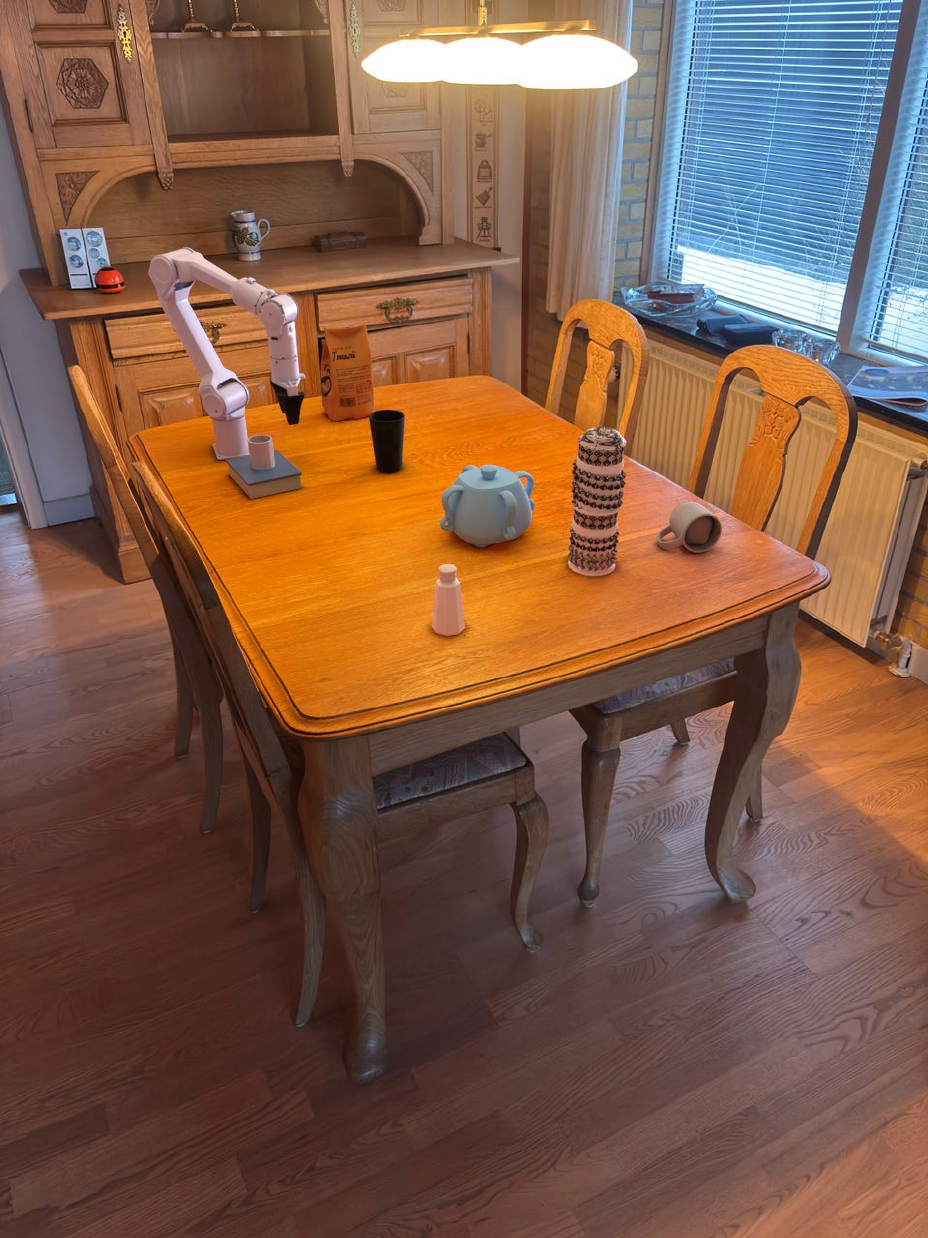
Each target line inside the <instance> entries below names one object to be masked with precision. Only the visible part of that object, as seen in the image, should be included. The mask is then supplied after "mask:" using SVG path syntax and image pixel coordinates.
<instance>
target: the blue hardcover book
mask: <svg viewBox="0 0 928 1238" xmlns="http://www.w3.org/2000/svg"><path fill="white" fill-rule="evenodd" d="M274 458H275V466H274V467H273V468H272V469H269V470H262V471H260V470H254V469H252V468H251V464H250V456H249V455H248V456H243V457H238V458H232V459H225V463H226V464H227V465H228V474H229V476H230V477H231V479H232V480H233V481H234V482H235V483H236V484H237V485H238V486H239V488H240V489H241V490H242V492H244V493H245V494H246V495H247V497H248V498H249V499H250V500H253V499H254V500H255V499H259V498H263V497H268V496H271V495H272V496H273V495H276V494H281V493H284V492H289V491H294V490H299V489H302V481H301V476H302V475H303V473H302V472H301V470H299V469H298V467H296V466H295V465H294V464H293V463H292V462H291V461H290V460H289V459H288V458H286V457H285V455H284V454H282V453H281V452H280V451H279V450H278V449H274Z"/></svg>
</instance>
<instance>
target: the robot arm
mask: <svg viewBox="0 0 928 1238" xmlns="http://www.w3.org/2000/svg"><path fill="white" fill-rule="evenodd" d="M147 274H148V276H149V278H150V280H151V282H152V284H153V285H154V288H155V290H156V295H157V299H158V302H159V305H160V306H161V308H162V310H163V312H164V313H165V315H166V317H167V319H168V321H169V322H170V325H171V326H172V328H173V330H174V332H175V334H176V335H177V337H178V339H179V341H180V343H181V344H182V346H183V348H184V350H185V351H186V354H187V356H188V357H189V359H190V361H191V363H192V365H193V366H194V368H195V370H196V372H197V374H198V375H199V377H200V383H199V385H198V390H197V392H198V394H199V396H200V398H201V403H202V407H203V409H204V411H205V413H206V414H207V415H208V416H209V418H210V419H211V421H212V426H213V433H214V435H213V436H214V440H215V443H213V444H212V448H213V451H214V453H215V456H216V459H217V461H222V460H227V459H233V458H238V457H243V456H248V455H249V448H248V441H247V440H248V438H249V436H248V430H247V429H248V428H247V422H246V413H245V412H246V410H247V409H246V406H247V405H248V403H249V401H250V392H249V390H248V387H247V386H246V385H245V384H244V383H243V382H242V381H241V380H240V379H239V378H238V376H237V374H236V373H235V372H234V371H232V370H230V369H227V368H226V367H224V365H223V363H222V361H221V359H220V357H219V356H218V354H217V352H216V350H215V348H214V346H213V345H212V343H211V341H210V339H209V337H208V336H207V333H206V331H205V330H204V328H203V326H202V324H201V322H200V321H199V318H198V317H197V315H196V313H195V311H194V309H193V307H192V306H191V304H190V302H189V300H188V298H189V296H190V295H189V294H190V292H191V289H192V288H193V286H194V284H195V283H196V281H199V282H200V283H201V282H202V283H204V284H206V285H208V286H210V287H211V288H212V287H213V288H215V289H217V290H219V291H221V292H223V293H226V294H228V295H230V296H231V299H232V302H233V303H234V304H235V305H236V306H238V307H240V308H242V309H243V310H246V311H248V312H249V313H252V314H253V315H255V316H257V317H259V320H260V321H261V323H262V324H263V326H264V328H265V334H266V335H267V342H268V351H269V361H270V370H271V378H270V380H269V384H270V385H271V387H272V388H273V390H274V393H275V395H276V398H277V401H278V405H279V408H280V411H281V413H282V414H285V419H286V422H287V423H288V426H295V425H299V424H300V417H301V410H302V405H303V401H304V399H305V397H306V393H305V391H304V390H303V391H299V390H298V386H299V384H300V382H301V380H305V379H306V375H305V374H304V373H300V368H299V367H300V366H299V356H298V346H297V345H298V344H297V335H296V325H295V324H296V323H295V321H296V319H297V318H298V316H299V311H300V309H299V306H298V305H299V304H298V303H297V300H296V299H295V298H294V297H293V296H291V295H290V294H289V293H288V292H280V293H277V292H276V291H275V290H274V289H272V288H270V289H268V288H267V287H265V286H263V285H261V284H259V283H257V282H256V278H254V277H251V276H250V277H241V278H240V279H238V278H237V277H235V276H233V275H231V274H230V273H228V272H227V271H225V270H223V269H222V268H220V267H219V266H217V265H215V264H214V263H212V262H210V261H209V260H207V259H206V258H204V256H203V254H202V253H201V252H198V251H196V250H194V249H192V248H191V247H186V246H183V247H181V248H179V249H176V250H173V251H170V252H169V251H168V252H166V253H162V254H156V255H154V256H153V257H152V259H151V260H150V263H149V267H148V271H147Z"/></svg>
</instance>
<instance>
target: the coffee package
mask: <svg viewBox="0 0 928 1238" xmlns="http://www.w3.org/2000/svg"><path fill="white" fill-rule="evenodd" d="M323 330H324V331H323V332H324V338H325V339H323V349H322V352H321V361H320V393H321V395H320V396H321V406H322V408H323V410H324V412H325V415H327V417H328V419H330V420H332V421H334V422H339V421H343V420H347V419H353V420H358V419H363V418H366V417H369V415H370V414H371V413H373V412H376V410H375V389H374V376H373V374H374V373H373V360H372V359H373V358H372V353H371V352H372V350H371V348H370V342H369V339H368V337H369V336H368V329H367V325H366V323H365V322H360V323H357V324H355V325H352V326H348V327H331V326H330V327H327V326H324V327H323Z"/></svg>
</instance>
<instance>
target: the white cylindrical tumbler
mask: <svg viewBox="0 0 928 1238" xmlns="http://www.w3.org/2000/svg"><path fill="white" fill-rule="evenodd" d="M247 441H248V448H249V456H250V464H251V468H252V469H254V470H260V471H262V470H269V469H272V468H273V467H274V466H275V458H274V450H275V449H274V441H273V436H271V435H268V434H255V435H251V436H249V437H248V440H247Z"/></svg>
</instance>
